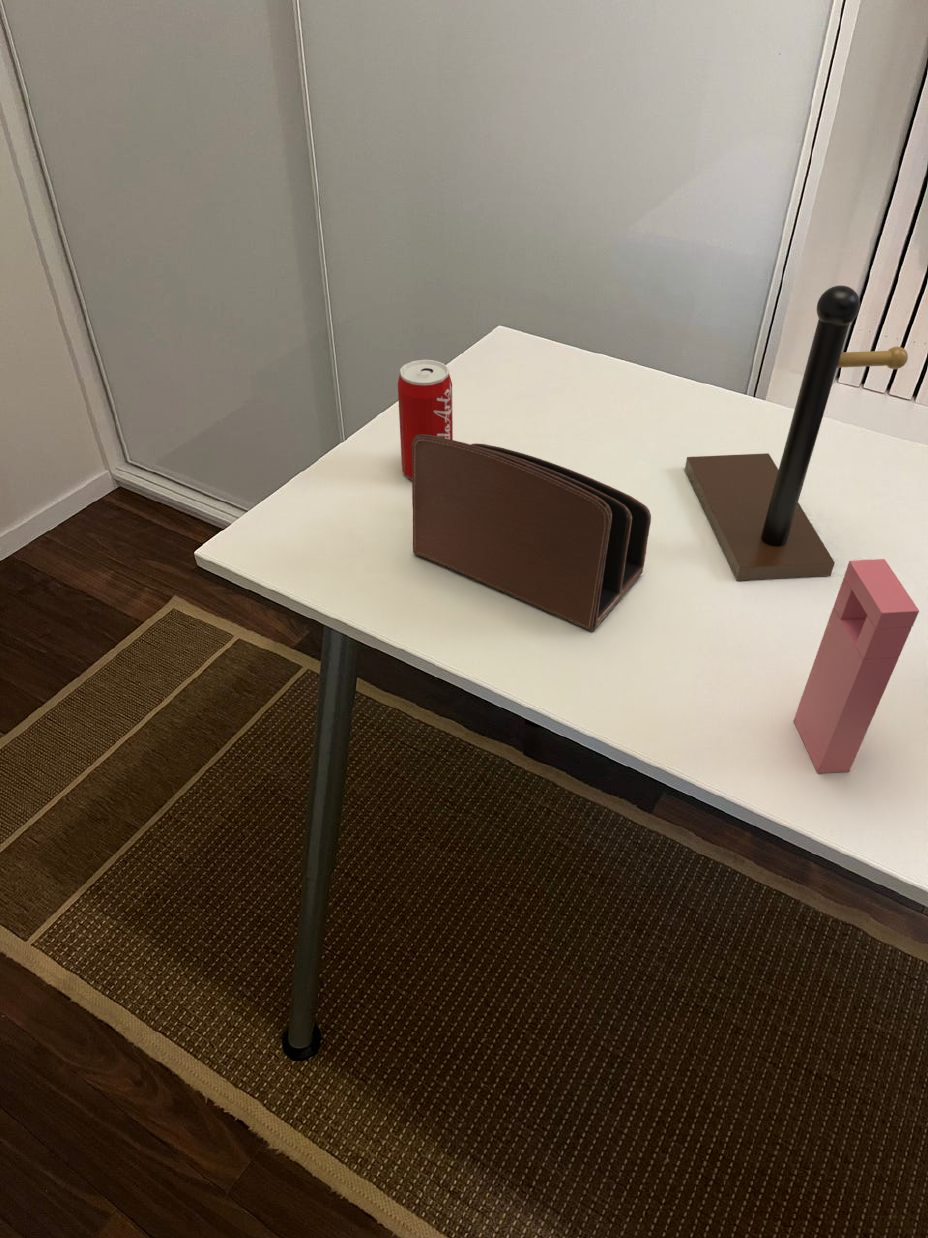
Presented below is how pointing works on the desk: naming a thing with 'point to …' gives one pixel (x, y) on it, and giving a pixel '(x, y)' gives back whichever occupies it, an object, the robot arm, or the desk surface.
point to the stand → (783, 465)
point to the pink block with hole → (854, 663)
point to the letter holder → (527, 527)
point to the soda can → (423, 405)
